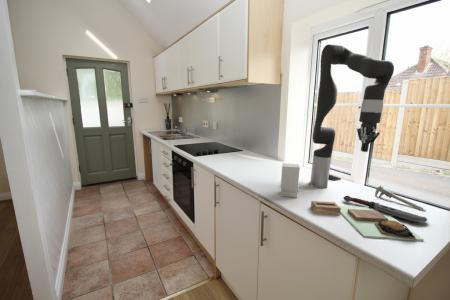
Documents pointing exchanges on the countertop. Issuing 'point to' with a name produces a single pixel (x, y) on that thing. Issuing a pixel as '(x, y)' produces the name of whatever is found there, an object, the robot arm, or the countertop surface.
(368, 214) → the board
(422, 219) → the knife
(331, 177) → the phone
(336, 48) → the robot arm
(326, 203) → the stand
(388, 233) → the bread roll
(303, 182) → the countertop surface
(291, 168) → the skincare box
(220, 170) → the countertop surface
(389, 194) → the caliper
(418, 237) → the mat
